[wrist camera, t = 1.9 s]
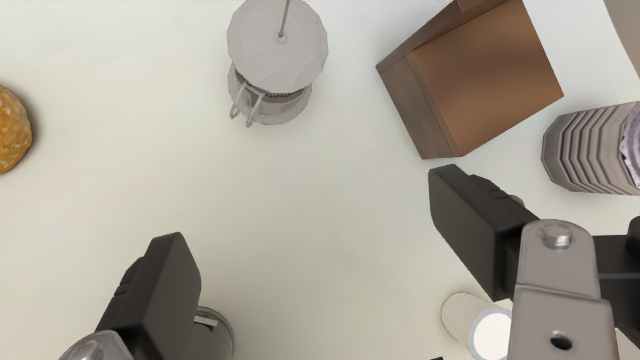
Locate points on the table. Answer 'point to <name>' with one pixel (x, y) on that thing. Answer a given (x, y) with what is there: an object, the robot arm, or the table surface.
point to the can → (595, 150)
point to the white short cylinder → (478, 326)
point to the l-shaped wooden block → (469, 76)
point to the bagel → (12, 130)
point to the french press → (274, 58)
